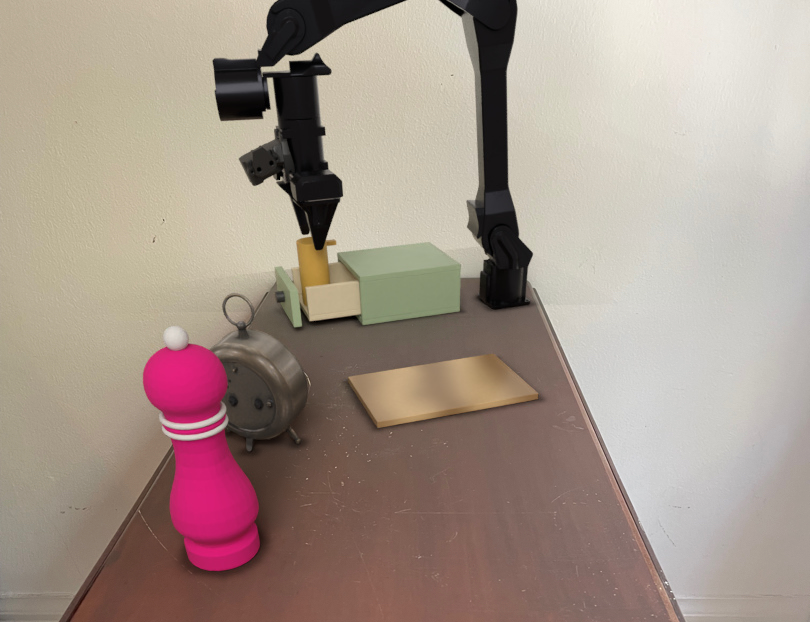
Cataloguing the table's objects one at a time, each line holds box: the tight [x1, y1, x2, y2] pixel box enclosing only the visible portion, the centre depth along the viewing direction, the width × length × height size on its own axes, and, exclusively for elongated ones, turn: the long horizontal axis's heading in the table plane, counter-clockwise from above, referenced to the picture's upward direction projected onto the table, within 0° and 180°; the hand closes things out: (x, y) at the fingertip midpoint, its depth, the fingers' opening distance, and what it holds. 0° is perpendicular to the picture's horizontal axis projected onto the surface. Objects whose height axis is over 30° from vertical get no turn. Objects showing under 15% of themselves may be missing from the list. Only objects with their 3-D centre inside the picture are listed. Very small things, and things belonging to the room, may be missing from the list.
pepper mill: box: [142, 325, 261, 572], centre depth 55 cm, size 7×7×20 cm
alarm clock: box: [209, 292, 309, 452], centre depth 71 cm, size 11×5×16 cm, turn 71°
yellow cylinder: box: [295, 236, 337, 306], centre depth 104 cm, size 6×4×9 cm
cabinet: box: [336, 241, 462, 326], centre depth 109 cm, size 16×14×7 cm
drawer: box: [274, 261, 361, 328], centre depth 106 cm, size 16×12×5 cm
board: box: [347, 353, 539, 429], centre depth 85 cm, size 20×13×1 cm, turn 108°
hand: (311, 241), depth 102 cm, fingers open, 9 cm apart
